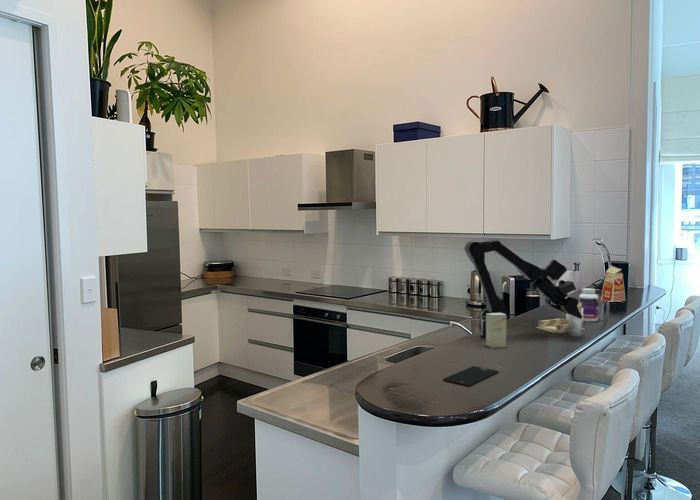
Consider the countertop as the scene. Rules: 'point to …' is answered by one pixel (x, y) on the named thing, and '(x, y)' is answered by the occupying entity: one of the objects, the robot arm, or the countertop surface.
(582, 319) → the white rounded cylinder
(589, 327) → the countertop surface
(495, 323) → the skincare box
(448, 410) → the countertop surface
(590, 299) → the pill bottle
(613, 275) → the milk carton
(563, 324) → the cradle
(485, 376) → the cell phone
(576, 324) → the cell
